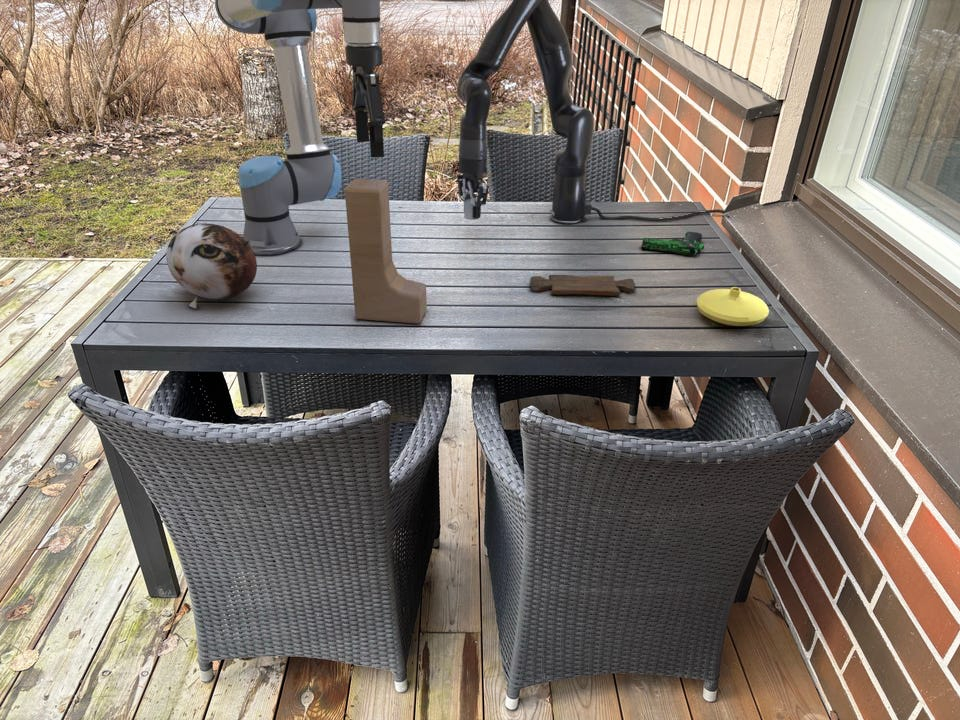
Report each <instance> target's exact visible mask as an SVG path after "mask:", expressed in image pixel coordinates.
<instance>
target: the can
mask: <svg viewBox="0 0 960 720" xmlns="http://www.w3.org/2000/svg"><path fill="white" fill-rule="evenodd" d="M476 201H477V198H476ZM463 218H464V219H466V220H471V221H475V220H479V219H480V218H478V219H474V218H473V201H472V199H466V200H463Z"/></svg>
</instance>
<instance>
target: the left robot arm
mask: <svg viewBox="0 0 960 720" xmlns="http://www.w3.org/2000/svg"><path fill="white" fill-rule="evenodd" d="M214 8H215V13H216V14H217V16H218V18H219V19H220V21H221V22H222V23H223V25H225V26H226V27H228V28H229V29H231V30H233V31H235V32H238V33H241V34H247V35H264V40H265V43H266V44H267V45H268V46H269V47H271V49H272V51H273V57H274V61H275V67H276V72H277V79H278V83H279V89H280V94H281V101H282V107H283V111H284V117H285V123H286V128H287V133H288V138H289V139H288V140H289V145H290V146H289V148H288V149H287V151H286V152H285V154H286V160H283V158H282V157H281V156H279V155H273V154H271V155H260V156H257V157H253V158H250V159H248V160H245V161H244V162H243V163H241V165H240V166H239V167H238V170H237V174H238V186H239V190H240V196H241V201H242V208H243V212H244V213H243V215H244V219H245V220H244V226H243V228H244V229H243V235H240V236H241V237H243V238H244V239H245V240H246V241H249V242H248V244H249V245H250V247H251V248H252V250H253V252H254V254H255V256H256V255H257V256H275V255H281V254H282V255H283V254H285V253H289V252H291V251H293V250H296V249H297V248H298V247H299V246H300V244H301V241H300V235H299V233H298V231H297V229H296V227H295V225H294V223H293V220H292V218H291V216H290V207H289V206H295V205H301V204H307V203H312V202H313V203H314V202H318V201H319V202H323V201H325V200H328V199H332V198H335V197H337V195H338V194H339V193H340V189H341V187H342V180H343V179H342V178H343V177H342V175H343V174H342V168H341V167H342V166H341V163H340V161H339V158H338V157H337V155H335V154H334V153H331V149H330V147H329V146H328V145H326V144H325V142H324V141H323V140H324V139H323V135H322V128H321V123H320V116H319V111H318V105H317V98H316V92H315V87H314V86H315V85H314V80H313V75H312V74H313V73H312V68H311V62H310V61H311V60H310V56H309V49H308V45H309V44H310V42H311V40H312V39H313V38H312V37H313V36H312V33H313V32H314V31H315V30H316V29H317V25H318V22H317V19H318V15H317V10H323V9H324V10H326V9H341V11H342V28H343V39H344V40H343V41H344V42H345V43H346V45H345V47H344V50H345V52H344V53H345V63H346V64H347V66H350V67H351V69H352V95H351V105H352V107H353V110H354V120H355V130H356V131H355V133H356V142H357V143H368V142H369V150H370V158H371V159H374V158H384V157H385V147H384V128H383V127H384V125H386V119H385V113H384V107H383V100H382V99H383V98H382V93H381V87H380V75H379V73H375V70H374V68H375V67H380V66H381V65H383V63H384V58H383V46H382V45H381V44H380V43H381V42H382V32H383V31H384V25H381V23H382V22H381V3H380V0H214ZM178 232H179V231H176V230H175V229H173V230H171V231H170V232H168V235H169V236H170V235H173V234H174V235H176V234H177V233H178Z"/></svg>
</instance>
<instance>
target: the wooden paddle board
mask: <svg viewBox="0 0 960 720" xmlns="http://www.w3.org/2000/svg"><path fill="white" fill-rule="evenodd" d="M529 278H530V285H529V286H530V291H531V292H542V291H547V290H551V294H552V295H556V296H557V295H558V296H559V295H560V296H562V295H588V296H589V295H592V296H612V297H613V296H614V297H615V296H619V295H621V291H623V292H627V293H634V290H635V282H634V279H633V278H625V279H619V280H618V279H617V280H615V276H614V275H573V274H572V275H570V274H549V275H548V279H547V278H546V277H543V276H540V275H534V276H530V277H529Z"/></svg>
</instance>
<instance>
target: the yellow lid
mask: <svg viewBox="0 0 960 720" xmlns="http://www.w3.org/2000/svg"><path fill="white" fill-rule="evenodd" d="M696 307H697V309H698V311H699V312H700V313H701V314H702V315H703V316H704V317H706V318H707V319H710V320H712V321H714V322H716V323H718V324H722V325H727V326H731V327H732V326H734V327H746V326H754V325H757V324H761V323H762V322H764V321H765V320H766V318H767V317H768V316H769V313H770V309H769V307H768V305H767V304H766V302H765V301H764V300H763V299H761V298H760V297H758V296H756V295H754V294H752V293H749V292H746V291H742V289H741V288H740V287H737V286H733V287H730V288H717V289H710V290H707V291H704V292H703V293H701V294H700V295H699V296H698V297H697V298H696Z"/></svg>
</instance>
